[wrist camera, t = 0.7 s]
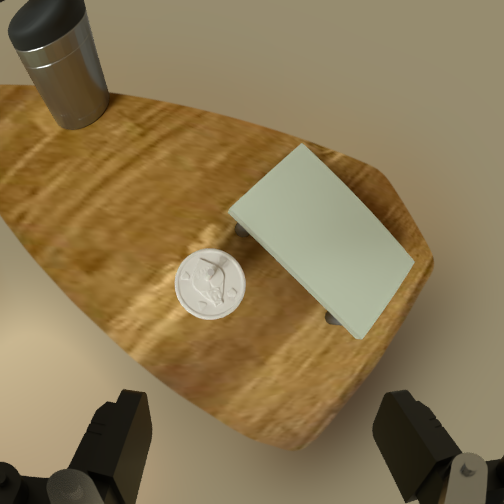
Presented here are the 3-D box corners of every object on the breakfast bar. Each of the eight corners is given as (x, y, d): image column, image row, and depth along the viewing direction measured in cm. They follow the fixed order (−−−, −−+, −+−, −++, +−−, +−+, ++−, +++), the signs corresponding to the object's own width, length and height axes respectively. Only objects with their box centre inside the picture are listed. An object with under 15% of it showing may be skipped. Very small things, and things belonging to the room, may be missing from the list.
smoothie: (220, 254, 37) (235, 224, 24) (241, 303, 37) (269, 301, 23) (171, 275, 36) (157, 255, 22) (192, 325, 35) (191, 335, 22)
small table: (223, 226, 38) (229, 208, 31) (285, 167, 41) (301, 142, 34) (334, 335, 38) (362, 339, 32) (384, 269, 41) (414, 262, 35)
